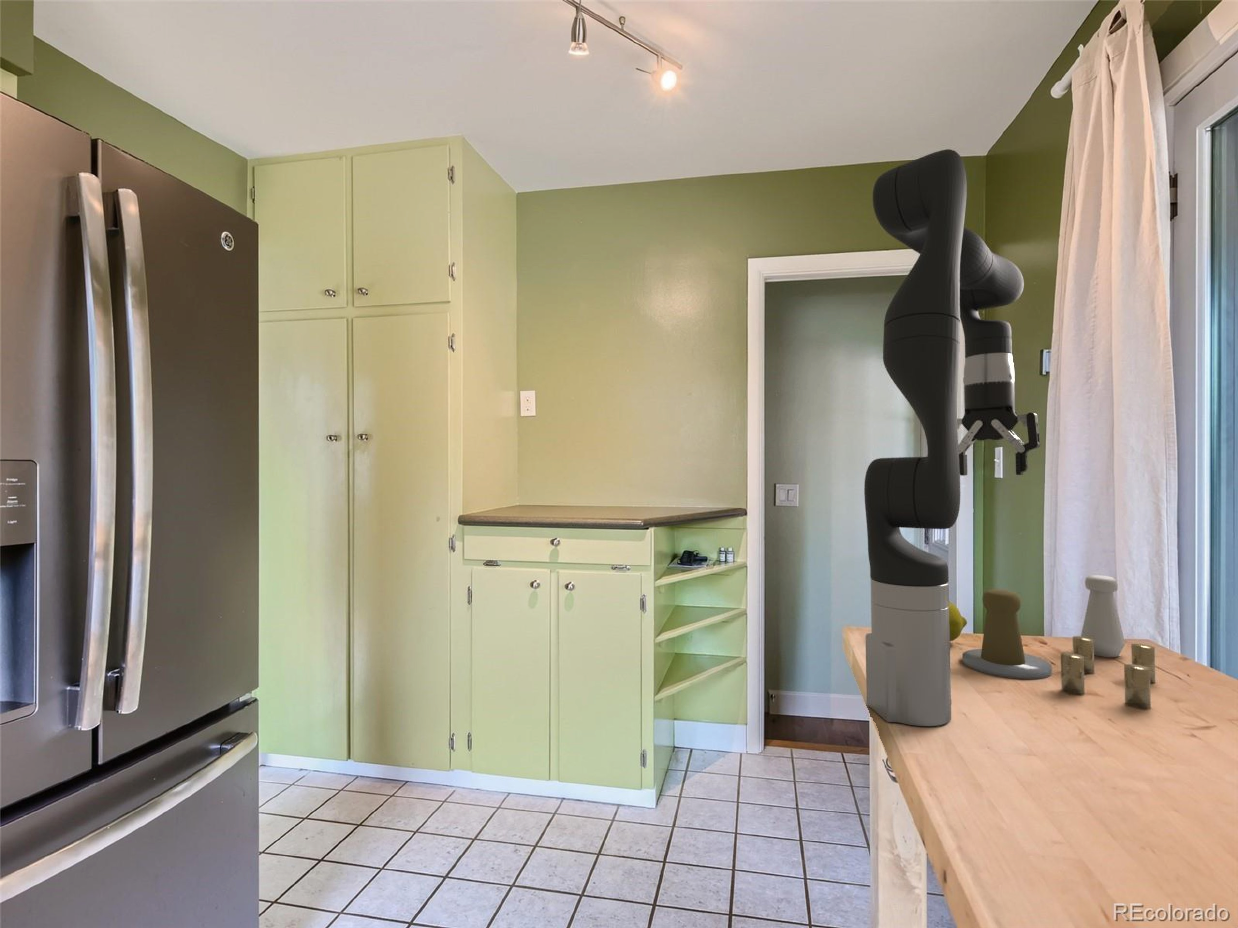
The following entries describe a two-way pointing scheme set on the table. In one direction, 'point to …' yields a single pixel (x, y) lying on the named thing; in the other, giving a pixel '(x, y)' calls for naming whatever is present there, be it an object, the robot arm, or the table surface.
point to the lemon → (955, 622)
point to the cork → (1002, 628)
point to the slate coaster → (1008, 666)
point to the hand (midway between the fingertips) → (990, 475)
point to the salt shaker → (1103, 617)
